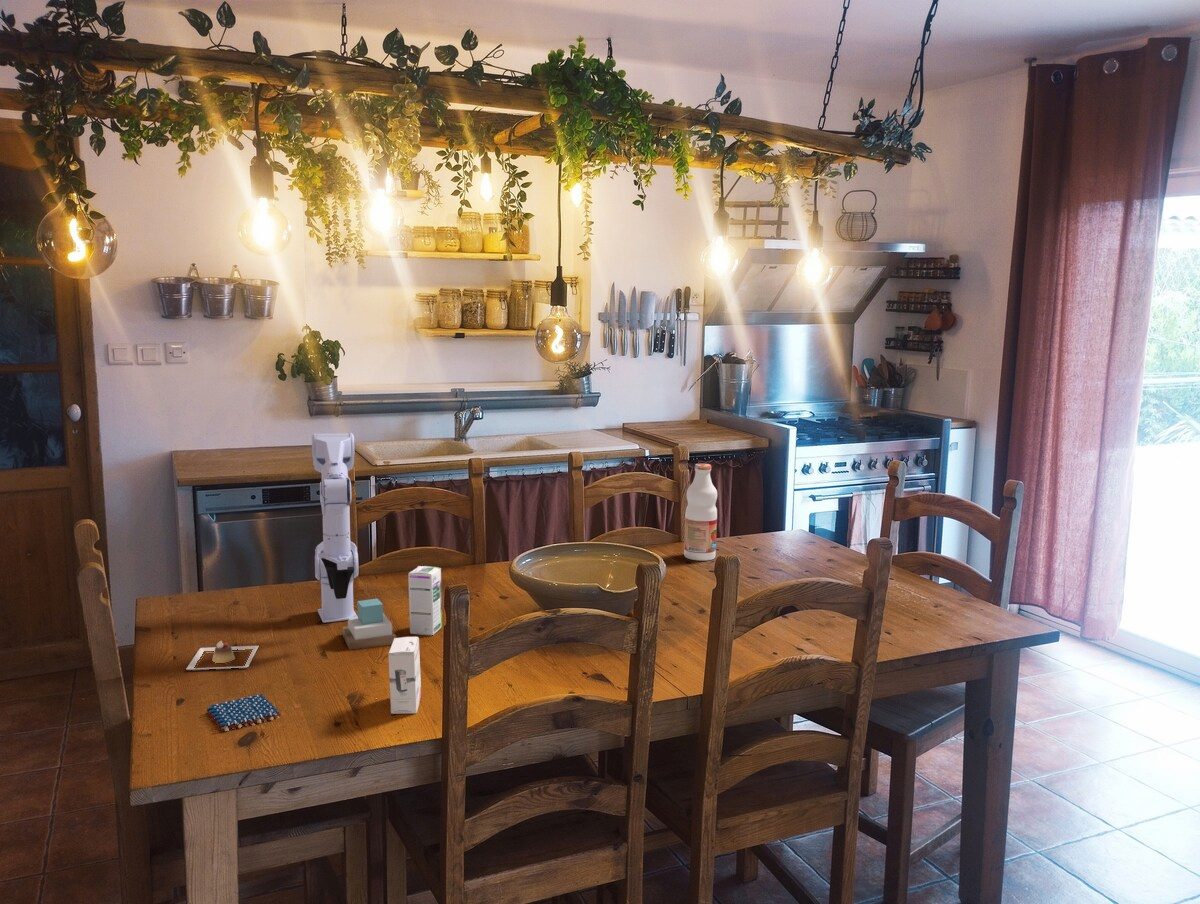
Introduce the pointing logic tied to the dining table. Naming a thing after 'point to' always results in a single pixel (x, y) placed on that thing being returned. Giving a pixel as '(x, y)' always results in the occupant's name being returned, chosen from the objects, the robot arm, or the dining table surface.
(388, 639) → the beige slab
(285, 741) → the dining table surface
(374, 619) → the teal cube
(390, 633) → the white slab
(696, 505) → the fruit juice
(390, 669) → the ink box
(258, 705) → the woven mat
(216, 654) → the dessert
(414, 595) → the syrup box
